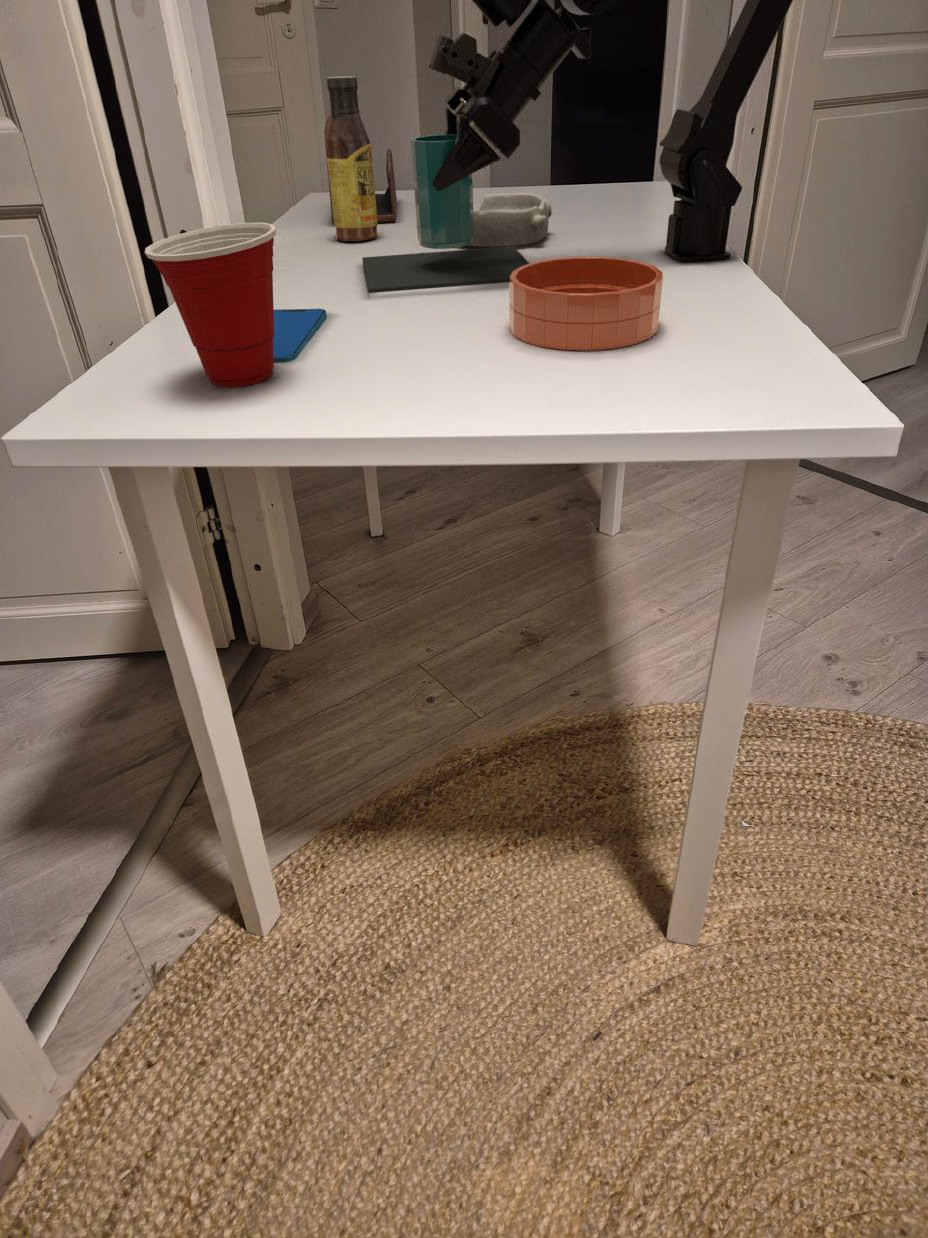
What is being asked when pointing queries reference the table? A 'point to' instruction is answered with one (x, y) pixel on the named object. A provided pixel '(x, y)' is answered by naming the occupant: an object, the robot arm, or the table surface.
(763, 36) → the robot arm
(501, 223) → the dish
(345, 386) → the table surface
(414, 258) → the mat
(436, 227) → the tumbler
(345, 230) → the sauce bottle
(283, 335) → the smartphone
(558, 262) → the bowl
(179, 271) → the plastic cup
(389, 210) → the letter holder
